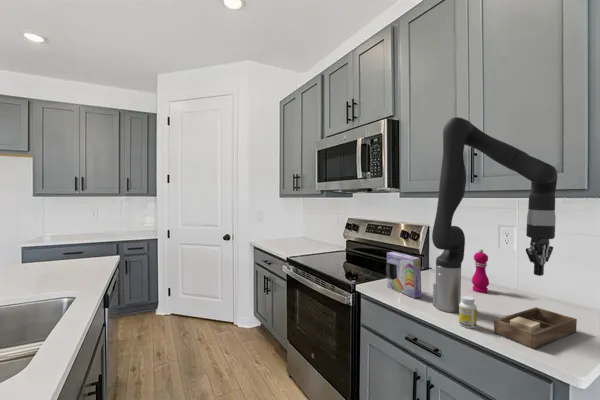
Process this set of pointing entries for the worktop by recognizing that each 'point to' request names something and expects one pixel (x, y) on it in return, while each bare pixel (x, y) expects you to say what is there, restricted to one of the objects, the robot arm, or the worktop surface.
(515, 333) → the divided wooden tray
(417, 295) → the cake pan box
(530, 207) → the robot arm
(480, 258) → the pepper mill
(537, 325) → the block
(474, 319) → the supplement bottle
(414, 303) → the worktop surface
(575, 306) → the worktop surface
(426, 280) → the worktop surface
